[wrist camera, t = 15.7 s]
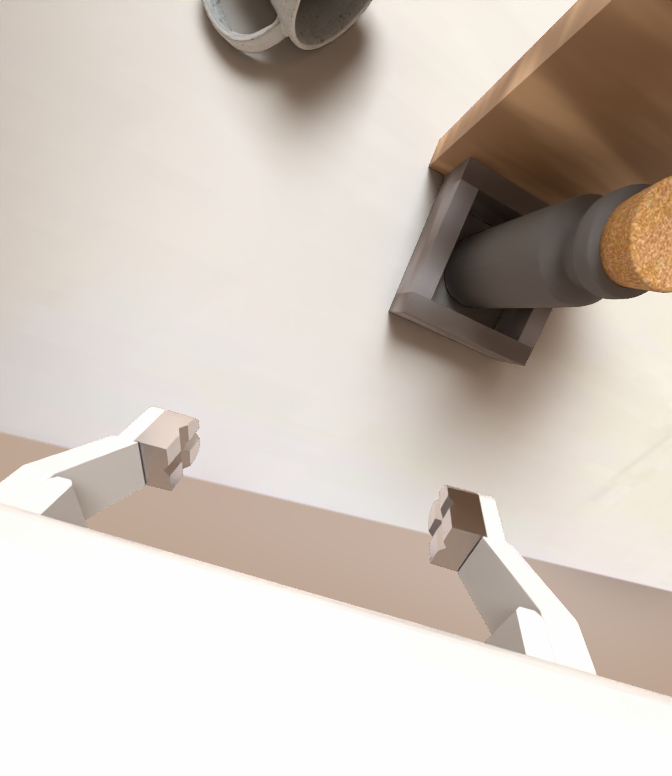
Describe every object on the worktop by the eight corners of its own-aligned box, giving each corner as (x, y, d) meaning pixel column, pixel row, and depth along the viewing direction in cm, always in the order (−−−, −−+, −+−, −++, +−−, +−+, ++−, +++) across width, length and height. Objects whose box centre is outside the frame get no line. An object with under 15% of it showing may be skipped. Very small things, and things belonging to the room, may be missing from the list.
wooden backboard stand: (439, 139, 26) (899, -323, 7) (577, 224, 30) (1138, 66, 11) (372, 304, 28) (596, 289, 9) (510, 365, 31) (887, 452, 12)
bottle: (430, 265, 28) (597, 217, 14) (486, 218, 28) (711, 123, 14) (467, 322, 30) (651, 334, 15) (519, 279, 30) (753, 249, 15)
